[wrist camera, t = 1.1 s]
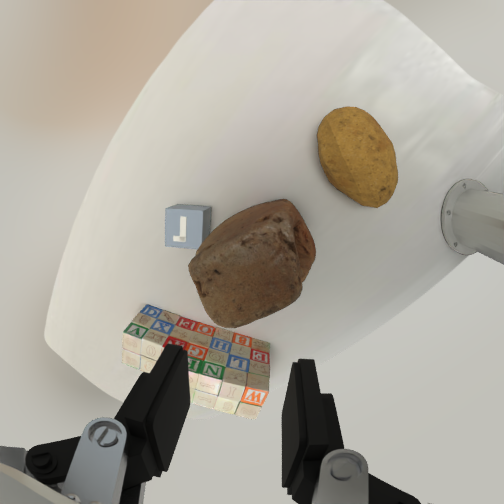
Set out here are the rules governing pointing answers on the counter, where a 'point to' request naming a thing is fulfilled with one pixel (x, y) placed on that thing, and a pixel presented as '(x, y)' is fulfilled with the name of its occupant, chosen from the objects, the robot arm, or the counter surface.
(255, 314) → the brown rock
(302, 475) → the robot arm
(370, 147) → the potato
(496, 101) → the counter surface
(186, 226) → the alphabet block
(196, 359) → the stack of blocks
